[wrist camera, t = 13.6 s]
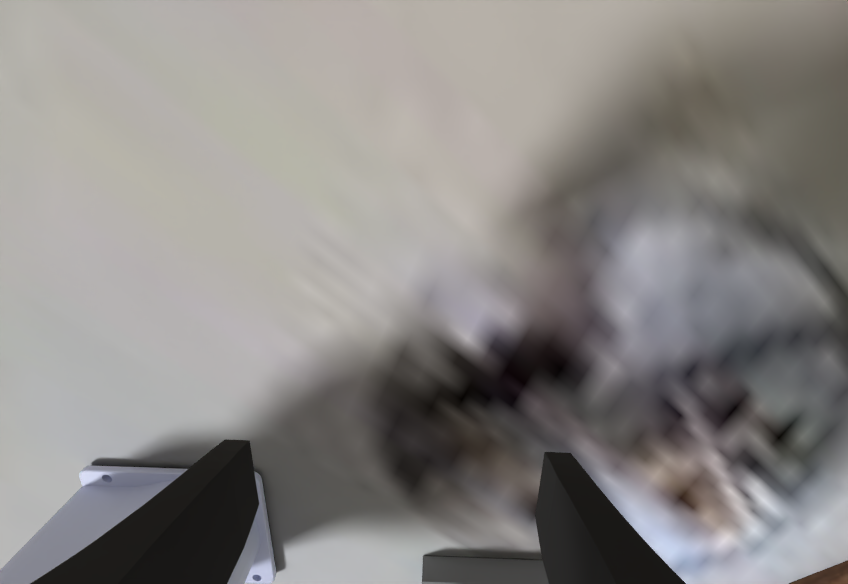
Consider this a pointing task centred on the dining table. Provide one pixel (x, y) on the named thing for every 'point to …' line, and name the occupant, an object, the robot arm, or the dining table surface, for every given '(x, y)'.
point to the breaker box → (482, 571)
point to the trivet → (827, 576)
